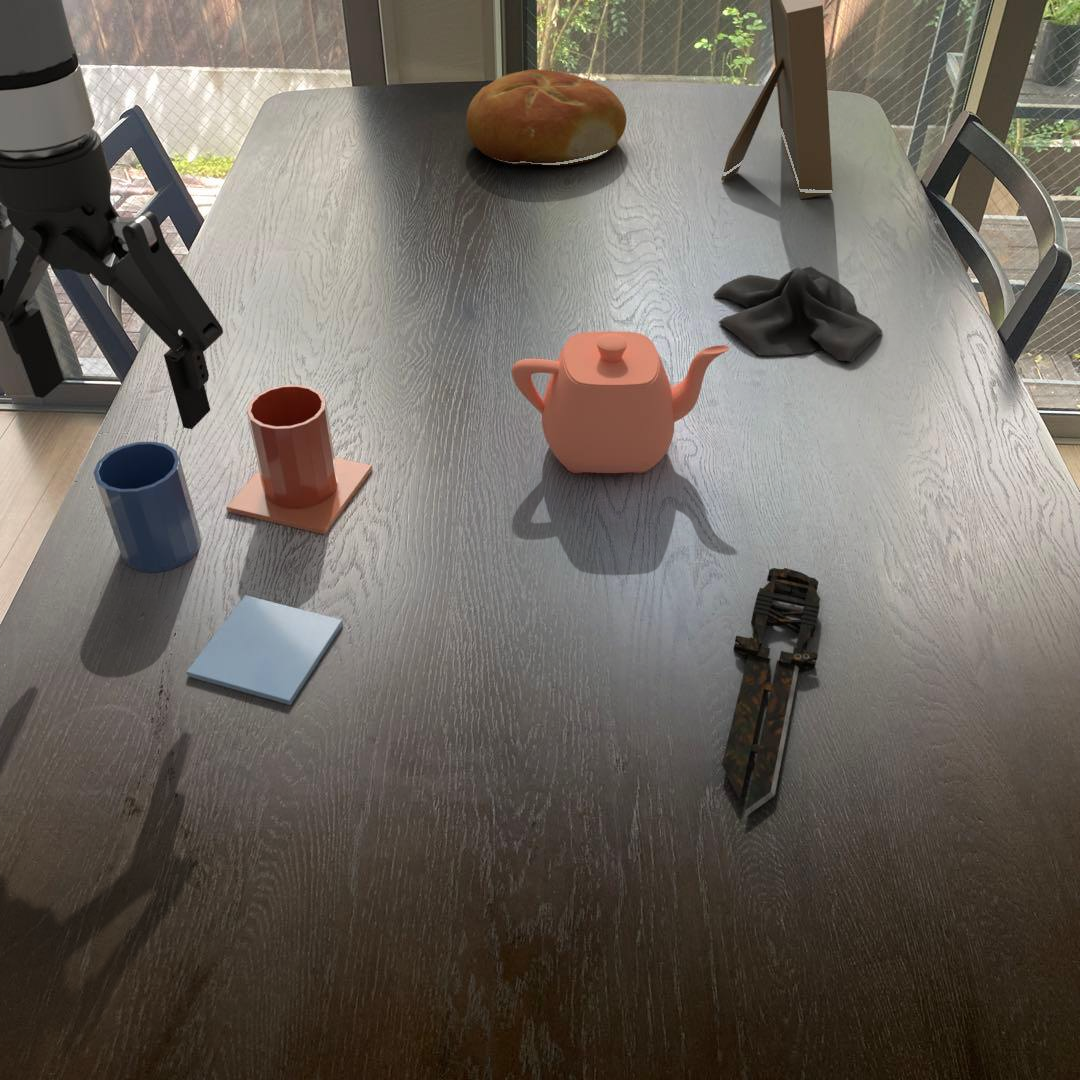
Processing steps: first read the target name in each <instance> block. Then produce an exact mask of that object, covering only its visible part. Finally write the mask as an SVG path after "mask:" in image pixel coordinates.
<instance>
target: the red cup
mask: <svg viewBox="0 0 1080 1080" xmlns="http://www.w3.org/2000/svg"><path fill="white" fill-rule="evenodd" d="M246 416H247V421H248V425H249V430H250V435H251V439H252V440H251V441H252V445H253V449H254V453H255V458H256V464H257V467H258V470H259V473H260V477H261V482H262V487H263V489H264V493H265V495H266V497H267V498H268V500H269V501H271V502H272V503H273V504H275V505H277V506H280V507H283V508H290V509H301V508H307V507H311V506H315V505H317V504H320V503H322V502H323V501H325V500H327V499H328V498H329V497H330V496H331V495H332V494H333V493H334V492H335V490H336V488H337V484H338V480H337V469H336V463H335V451H334V444H333V437H332V431H331V430H332V429H331V424H330V419H329V412H328V405H327V400H326V398H325V396H324V395H323V393H322V392H320V391H319V390H317V389H315V388H314V387H311V386H307V385H302V384H281V385H277V386H274V387H273V386H272V387H269V388H267V389H264V390H263V391H261V392H259V393H258V394H256V395H255V396H254V397H253V398H252V399H251V400H250V401H249V402H248V403H247V409H246Z"/></svg>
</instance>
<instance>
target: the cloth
mask: <svg viewBox="0 0 1080 1080" xmlns="http://www.w3.org/2000/svg"><path fill="white" fill-rule="evenodd" d="M712 296H714V297H715V298H721V299H727V300H731V301H734V303H737V304H739V305H742V306H744V307H746V308H747V309H744V310H742V311H739V312H736V313H733V314H731V315H727V316H725V317H723V318H722V319H720V320H719V321H718V323H719V324H720V325H722V326H723V327H724V328H725V329H727V330H728V331H730V332H731V333H732V334H733V335H735V336H736V337H737V338H738V339H740V340H741V341H742V342H743V343H745V344H746V345H747V347H749V348H750V350H752V351H753V352H754V353H755V354H756V355H758V356H761V357H785V356H787V357H788V356H797V355H805V354H810V353H814V352H817V351H819V350H821V349H823V350H824V351H825V352H827V353H829V354H830V355H832V356H833V357H834V358H835V359H836V360H838V361H842V362H850V363H853V362H854V361H855V359H856V358H857V357H858V356H859V355H860V354H861V353H862V352H863V351H864V350H865V349H866V348H867V347H868V346H869V345H870V344H871V342H873V341H874V340H875V339H876V338H877V337H879V336H880V335H881V334H882V333H883V329H882V328H881V327H880V326H879V325H878V324H877V322H875V321H874V320H872V319H871V318H869V317H868V316H866V315H864V314H862V313H860V312H859V311H858V309H857V305H856V301H855V300H856V299H855V296H854V294H852V292H851V291H850V290H849V289H848V288H847V287H846V286H844V285H843V284H842V283H840V282H838V281H837V280H836V279H834V278H832V277H831V276H829V275H826V274H825V273H823V272H821V271H820V270H817V269H816V268H814V267H812V266H806V267H804V268H800V267H797V266H796V267H794V268H793V269H792V270H790V271H789V272H787V273H785V274H784V275H782V277H780V279H776V278H772V277H767V276H762V275H758V274H757V275H755V274H747V275H742V276H740V277H736V278H734V279H732V280H730V281H728V282H726V283H724V284H722V285H721V286H720V287H719V288H718V289H717V290H716V291H715V292H714V293H713V295H712Z"/></svg>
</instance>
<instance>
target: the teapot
mask: <svg viewBox="0 0 1080 1080" xmlns="http://www.w3.org/2000/svg"><path fill="white" fill-rule="evenodd" d="M729 350H730V346H728V345H721V344H720V345H713V346H708V347H706V348H704V349H702V350H700V351H698V353H696V355H695V356H694V357H693V358H692V360H691V362H690V364H689V367H688V370H687V373H686V375H685V377H684V378H683V380H681V381H680V382H679V383H677V384H675V385H672V386H671V382H670V380H669V376H668V373H667V371H666V369H665V366H664V363H663V361H662V359H661V356H660V354H659V352H658V349H657V348H656V346H655V344H654V342H653V341H652V340H651V339H650V338H649V337H648V336H646V335H645V334H643V333H640V332H633V331H621V330H620V331H619V330H618V331H617V330H615V331H614V330H613V331H611V330H610V331H609V330H607V331H605V330H603V331H600V330H599V331H584V332H577V333H575V334H573V335H572V336H570V337H569V338H568V339H567V341H566V342H565V344H564V345H563V347H562V349H561V351H560V353H559V355H558V357H557V360H554V359H553V360H552V359H543V358H524V359H520V360H518V361H516V362H514V364H513V365H512V367H511V377H512V379H513V382H514V384H515V386H516V387H517V389H518V390H519V392H520V394H521V395H523V397H524V398H525V399H526V400H527V401H528V402H529V403H530V404H531V405H532V406H533V407H534V408H535V409H536V410H537V411H538V412H539V413H540V414H541V427H542V431H543V434H544V435H543V436H544V438H545V440H546V443H547V445H548V446H549V448H550V450H551V451H552V454H554V456H555V458H556V459H557V461H558V462H559V463H561V465H563V466H564V467H565V468H566V470H568V471H569V472H571V473H574V474H582V473H595V474H622V473H623V474H624V473H625V474H626V473H636V474H643V473H646V472H648V471H649V470H650V469H652V468H653V467H655V466H656V465H657V464H658V463H659V462H660V461H661V460H662V459H663V458H664V457H665V455H666V454H667V453H668V450H669V448H670V447H671V443H672V440H673V438H674V433H675V424H676V422H678V421H680V420H681V419H683V418H686V416H687V415H688V414H690V413H691V411H692V410H693V409H694V408H695V406H696V404H697V401H698V400H699V397H700V394H701V390H702V386H703V381H704V378H705V374H706V373H707V370H708V368H709V366H710V364H711V363H712V362H713V361H714V360H715V359H716V358H718V357H719V356H721V355H723V354H724V353H726V352H727V351H729ZM533 374H550V376H549V378H548V381H547V384H546V387H545V391H544V395H543V397H542V396H541V395H540V393H539V392H538V390H537V388H536V386H535V384H534V381H533V379H532V375H533Z"/></svg>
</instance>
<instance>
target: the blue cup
mask: <svg viewBox="0 0 1080 1080" xmlns="http://www.w3.org/2000/svg"><path fill="white" fill-rule="evenodd" d="M93 476H94V480H95V483H96V485H97V488H98V493H99V494H100V497H101V500H102V503H103V506H104V509H105V512H106V515H107V517H108V521H109V524H110V526H111V529H112V532H113V535H114V538H115V540H116V544H117V547H118V549H119V553H120V555H121V558H122V560H123V562H124V563H125V564H126V565H127V566H128V567H129V568H131V569H133V570H135V571H139V572H143V573H160V572H161V573H162V572H167V571H170V570H174V569H176V568H178V567H180V566H182V565H184V564H186V563H187V562H189V561H190V560H191V559H192V558H193V557H194V556H196V554H197V553H198V551H199V549H200V547H201V544H202V536H201V531H200V527H199V524H198V520H197V516H196V513H195V509H194V506H193V502H192V498H191V494H190V491H189V487H188V484H187V483H188V482H187V480H186V476H185V473H184V469H183V465H182V462H181V458H180V456H179V454H178V451H177V450H176V449H175V448H173V447H172V446H170V445H169V444H166V443H163V442H158V441H153V440H151V441H135V442H132V443H129V444H123V445H120V446H119V447H117V448H114V449H113V450H111V451H109V452H107V453H106V454H105V455H104V456H103V457H102V458H100V459H99V460H98V462H96V465H95V468H94V470H93Z"/></svg>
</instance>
